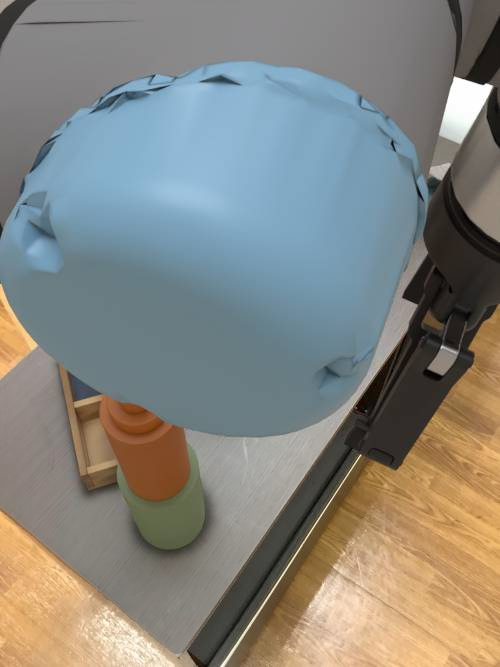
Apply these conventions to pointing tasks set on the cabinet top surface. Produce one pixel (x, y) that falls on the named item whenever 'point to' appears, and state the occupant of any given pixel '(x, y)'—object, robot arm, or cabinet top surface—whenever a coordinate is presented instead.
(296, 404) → the robot arm
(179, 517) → the stand
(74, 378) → the wooden divided box
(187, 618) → the cabinet top surface
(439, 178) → the stone
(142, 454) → the bottle
